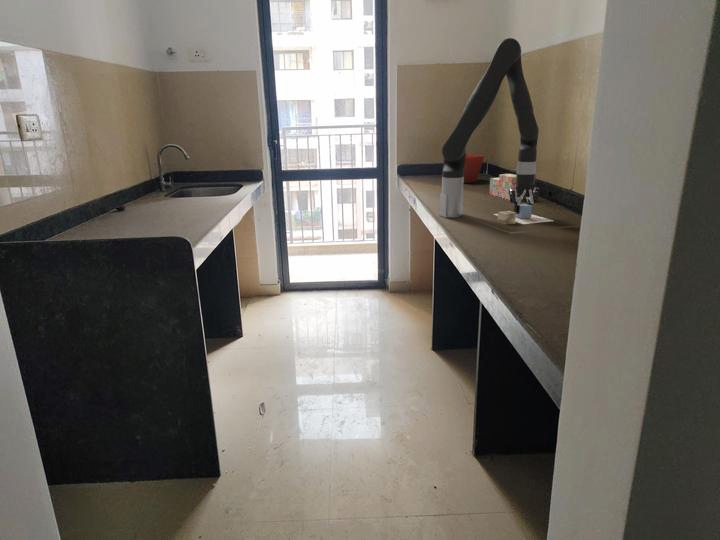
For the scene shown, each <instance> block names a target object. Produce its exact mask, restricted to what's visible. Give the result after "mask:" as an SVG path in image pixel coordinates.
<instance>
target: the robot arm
mask: <svg viewBox="0 0 720 540" xmlns="http://www.w3.org/2000/svg"><path fill="white" fill-rule="evenodd" d="M522 63H523V62H522V47H521V44H520V42H519V41H518V40H517V39H515V38H512V37H507V38H505V39H503V40H502V41H501V42H499V44H498V45H497V47H496V49H495V52H494V54H493V57H492V59H491V61H490V64H489V66H488V67H487V69H486V71H485V73H484V75H483V76H481V78H480V80H479V82H478V83H477V85H476V86H475V88H474V90H473V92H472V93H471V95H470V97H469V99H468V100H467V102H466V104H465V106H464V109H463V111H462V112H461V115H460V117H459V119H458V121H457V123H456V125H455V127H454V129H453V130H452V132H451V134H450V135H449V136H448V138H447V139H446V141H444V143H443V145H442V146H441V147H442V148H441V154H442V156H443V167H442V171H441V173H442V174H441V175H442V176H441V193H440V194H439V214H438V215H439V216H441V217H443V218H460V217H463V208H464V207H463V205H464V184H465V183H464V170H465V155H466V154H467V153H466V152H467V151H466V146H467V144H468V143H469V140H470V138H471V136H472V135H473V133H474V131H475V130H476V129H477V128H478V126H479V125H480V124H481V123H482V121H483V120H484V118H485V117H486V116H487V114H488V112H489V111H490V109H491V107H492V105H493V104H494V101H495V100H496V97H497V95H498V93H499V91H500V88H501V85H502V83H503V80H504V79H505V77H506V79H507V83H508V87H509V88H508V89H509V94H510V99H511V104H512V106H513V107H512V108H513V110H514V114H515V117H516V121H517V126H518V132H519V135H520V138H519V139H520V140H519V142H520V143H519V150H518V157H517V158H518V159H517V165H516V174H515V175H516V188H515V189H513V190H511V189H510V190H509V196H510V201H509V202H510V204H512V205H513V212H515V213H516V214H519V209H520V205H519V204H521V202H522V201H523V199H524V198H525V199H526V201H527V204H528V205H532V206H533V204H534V203H537V202H538V200H539V196H540V191H541V188H540V187H536V186H535V183H536V174H537V154H538V153H537V151H538V150H537V149H538V148H537V146H538V139H539V131H540V129H539V126H538V124H537V119H536V117H535V114H534V106H533V103H532V98H531V95H530V92H529V88H528V85H527V82H526V80H525V76H524V71H523V66H522ZM516 193H517V194H516ZM515 194H516V197H515Z"/></svg>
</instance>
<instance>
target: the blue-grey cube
mask: <svg viewBox="0 0 720 540" xmlns="http://www.w3.org/2000/svg"><path fill="white" fill-rule="evenodd" d="M519 205H520V209H519V214H516V217H518V218H530V217H531V215H533V214H532V211H533V205H528V203H520V204H519ZM513 212H514V211H513ZM514 213H515V212H514Z"/></svg>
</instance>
